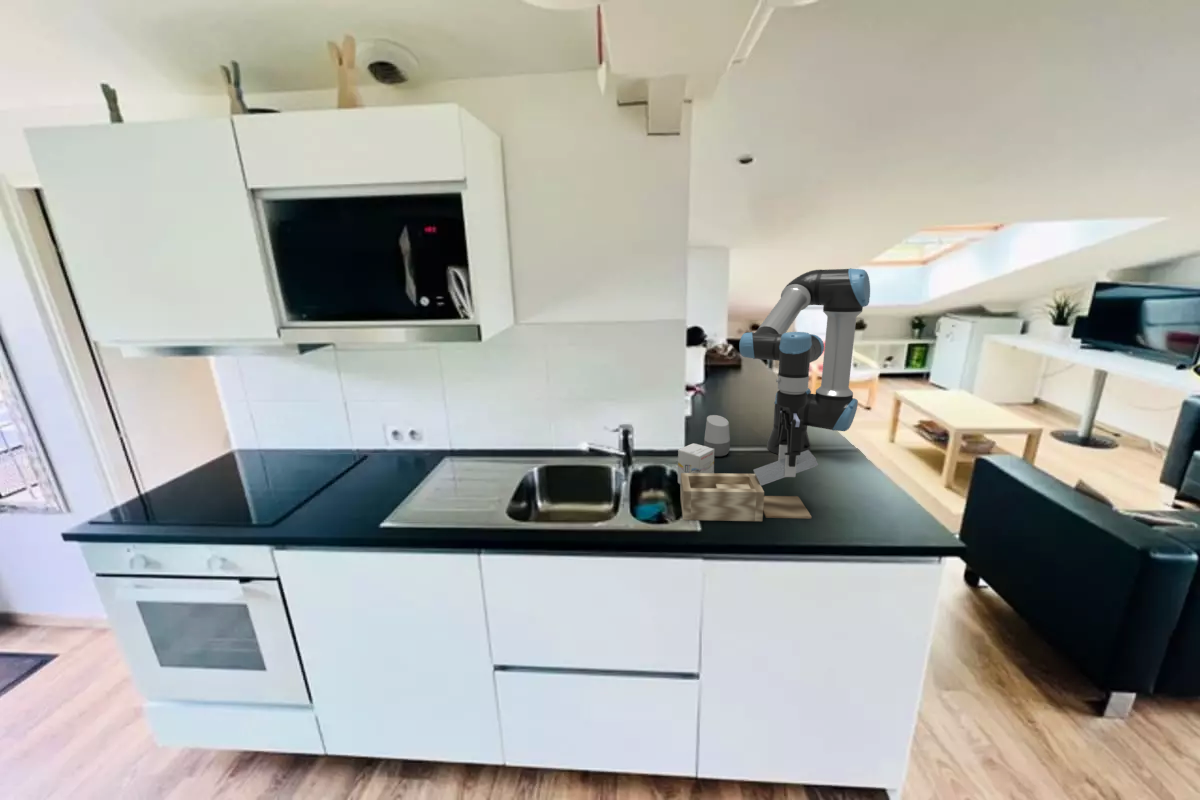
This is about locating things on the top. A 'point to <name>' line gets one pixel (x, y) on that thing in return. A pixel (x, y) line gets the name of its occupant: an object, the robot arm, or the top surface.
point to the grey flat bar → (778, 468)
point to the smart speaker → (717, 435)
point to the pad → (784, 507)
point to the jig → (721, 497)
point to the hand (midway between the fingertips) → (786, 471)
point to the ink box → (695, 460)
